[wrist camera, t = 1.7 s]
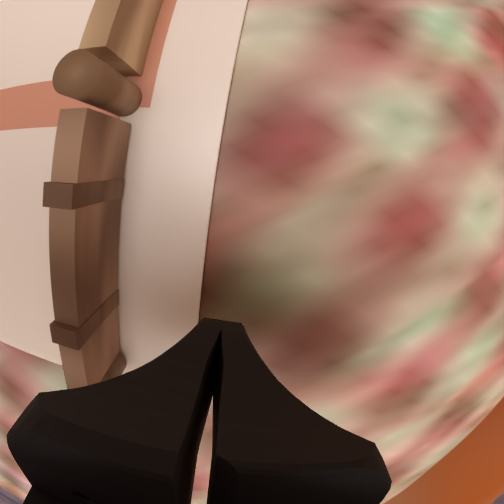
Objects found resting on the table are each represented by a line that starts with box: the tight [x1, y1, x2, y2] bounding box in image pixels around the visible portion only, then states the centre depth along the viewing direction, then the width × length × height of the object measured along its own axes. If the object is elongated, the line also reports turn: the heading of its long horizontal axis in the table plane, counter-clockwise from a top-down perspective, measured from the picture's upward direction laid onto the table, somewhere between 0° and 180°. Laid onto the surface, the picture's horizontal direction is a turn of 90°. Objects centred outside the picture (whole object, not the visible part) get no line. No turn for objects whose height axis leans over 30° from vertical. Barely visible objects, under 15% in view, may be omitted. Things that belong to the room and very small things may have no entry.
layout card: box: [0, 0, 248, 374], centre depth 10 cm, size 19×26×1 cm
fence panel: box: [43, 108, 131, 389], centre depth 10 cm, size 11×2×4 cm, turn 171°
